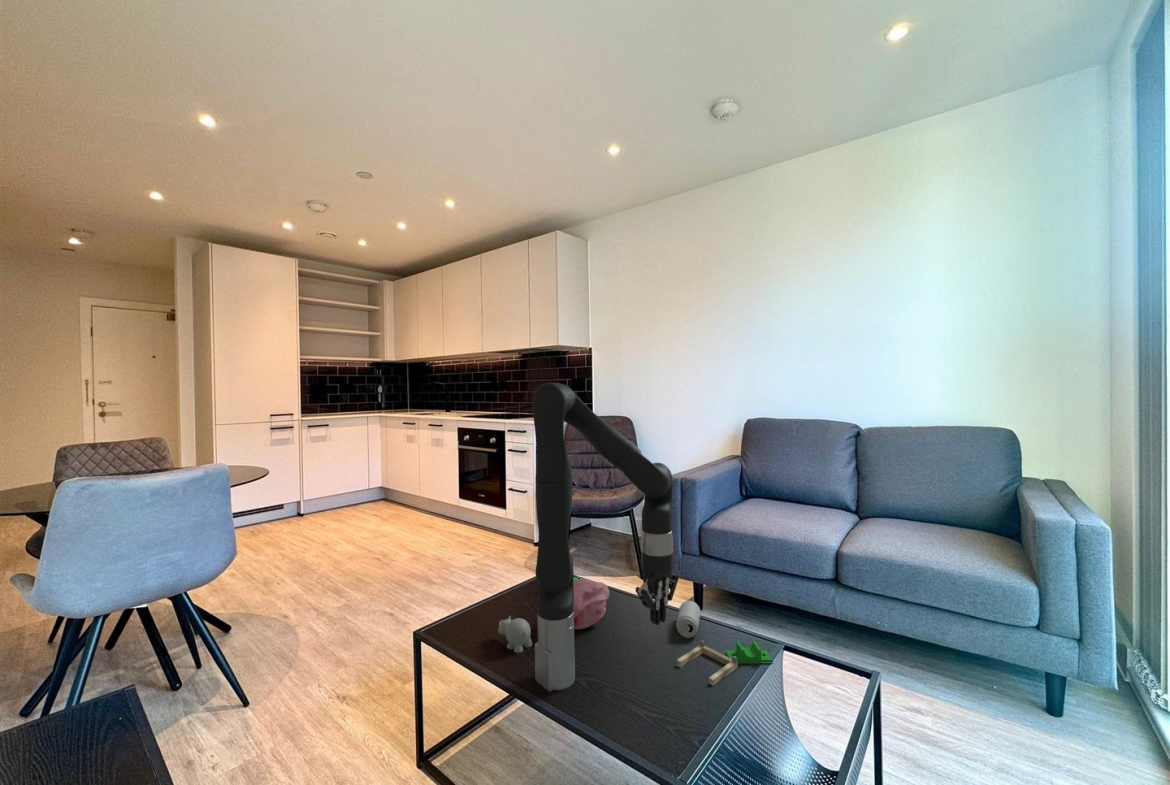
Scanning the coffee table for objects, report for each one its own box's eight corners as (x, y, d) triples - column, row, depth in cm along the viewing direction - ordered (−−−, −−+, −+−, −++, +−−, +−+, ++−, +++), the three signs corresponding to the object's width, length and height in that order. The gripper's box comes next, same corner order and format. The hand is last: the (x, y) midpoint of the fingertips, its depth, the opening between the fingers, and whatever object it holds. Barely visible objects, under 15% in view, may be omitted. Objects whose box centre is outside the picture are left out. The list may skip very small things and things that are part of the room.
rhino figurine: (510, 633, 138) (509, 606, 138) (536, 648, 130) (535, 619, 130) (490, 644, 132) (490, 615, 132) (516, 659, 124) (516, 629, 124)
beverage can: (701, 619, 143) (699, 640, 132) (681, 618, 145) (677, 638, 134) (699, 599, 143) (696, 618, 132) (679, 599, 145) (674, 617, 134)
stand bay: (713, 688, 111) (712, 675, 111) (676, 667, 120) (676, 655, 120) (737, 669, 118) (737, 657, 118) (701, 651, 127) (701, 639, 127)
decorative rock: (581, 647, 130) (580, 595, 130) (544, 632, 138) (543, 583, 138) (616, 619, 145) (615, 573, 145) (580, 607, 153) (579, 563, 153)
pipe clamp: (765, 640, 125) (772, 649, 120) (766, 654, 125) (772, 663, 120) (725, 641, 125) (730, 650, 120) (725, 654, 125) (730, 664, 120)
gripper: (649, 560, 99) (651, 639, 99) (687, 546, 108) (689, 618, 108) (625, 551, 105) (626, 626, 105) (663, 538, 114) (664, 606, 114)
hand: (658, 621), depth 107 cm, fingers closed
